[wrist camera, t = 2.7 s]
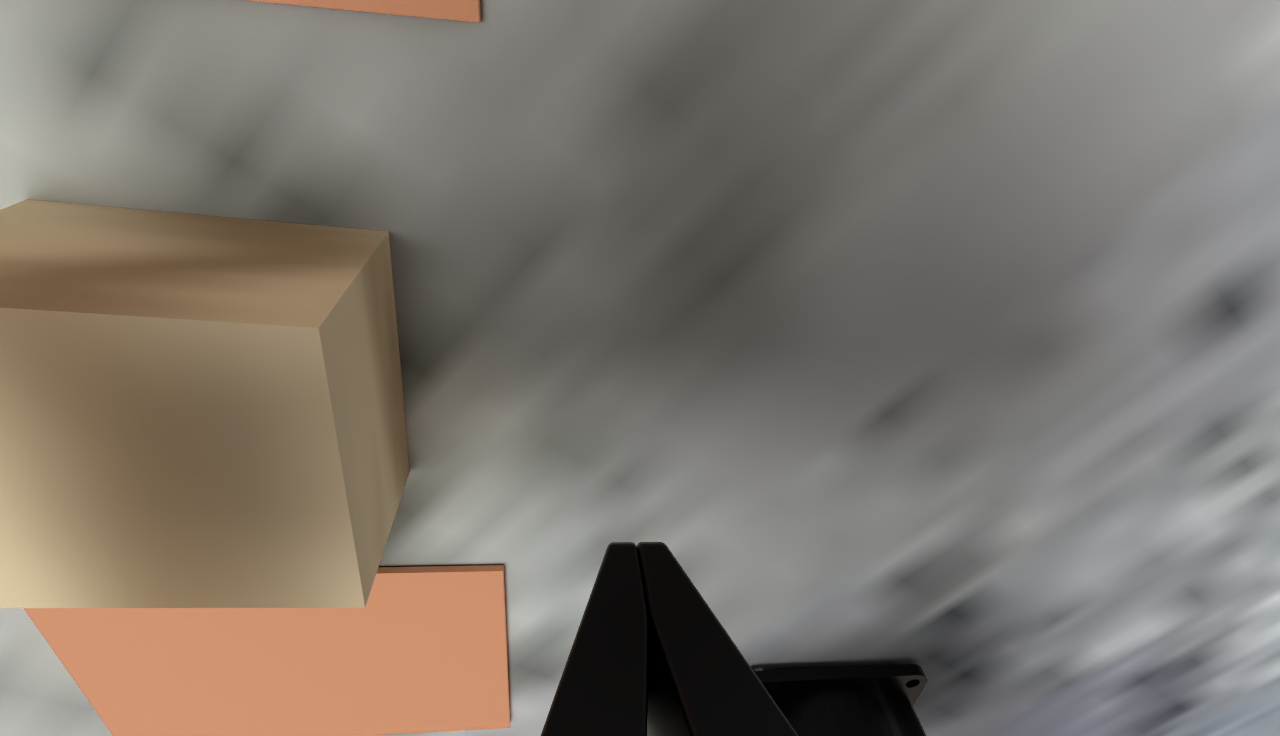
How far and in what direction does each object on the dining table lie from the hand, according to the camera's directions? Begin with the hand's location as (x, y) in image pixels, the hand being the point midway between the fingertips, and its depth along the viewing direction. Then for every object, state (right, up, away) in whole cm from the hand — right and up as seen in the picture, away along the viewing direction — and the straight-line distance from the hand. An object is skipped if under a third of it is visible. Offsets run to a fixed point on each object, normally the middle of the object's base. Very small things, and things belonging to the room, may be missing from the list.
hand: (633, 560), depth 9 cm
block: (-8, +3, +4) cm, 9 cm away
